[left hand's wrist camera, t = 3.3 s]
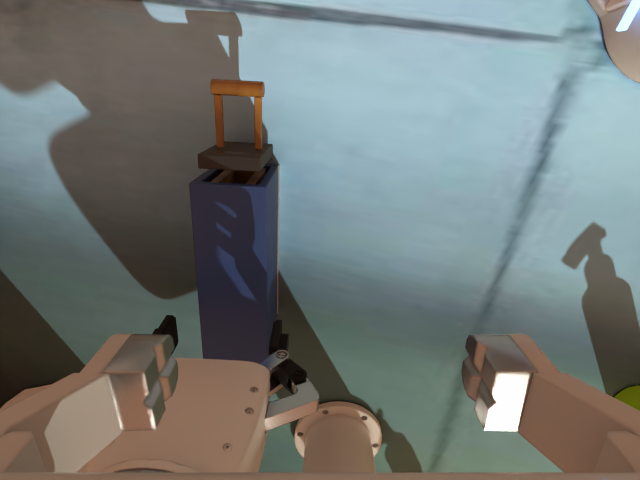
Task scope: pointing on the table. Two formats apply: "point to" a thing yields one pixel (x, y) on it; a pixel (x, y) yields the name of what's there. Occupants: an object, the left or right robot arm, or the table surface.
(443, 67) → the table surface
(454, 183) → the table surface
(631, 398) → the soap dispenser
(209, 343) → the cabinet
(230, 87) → the drawer
